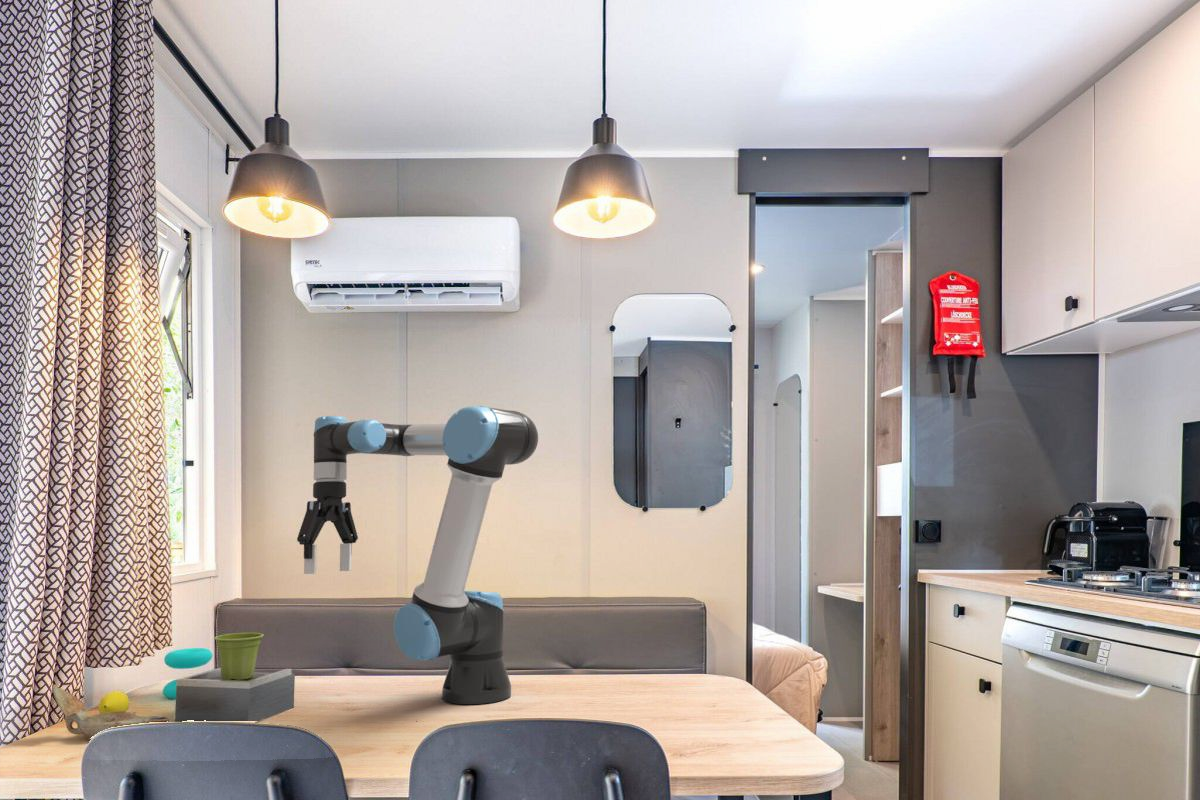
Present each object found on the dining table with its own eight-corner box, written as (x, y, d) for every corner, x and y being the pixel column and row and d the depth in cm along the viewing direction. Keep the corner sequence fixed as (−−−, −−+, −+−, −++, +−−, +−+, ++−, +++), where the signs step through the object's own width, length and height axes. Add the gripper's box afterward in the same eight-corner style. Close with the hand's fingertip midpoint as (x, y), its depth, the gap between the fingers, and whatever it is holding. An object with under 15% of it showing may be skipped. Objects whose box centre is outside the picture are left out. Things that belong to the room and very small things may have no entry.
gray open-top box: (293, 707, 177) (294, 667, 178) (248, 725, 162) (249, 682, 163) (213, 703, 182) (215, 665, 183) (162, 721, 167) (164, 679, 168)
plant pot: (245, 672, 179) (247, 631, 180) (271, 676, 174) (272, 634, 175) (204, 680, 172) (205, 637, 173) (229, 684, 166) (230, 640, 167)
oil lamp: (62, 733, 160) (65, 679, 161) (178, 728, 162) (180, 675, 163) (36, 746, 151) (40, 689, 152) (158, 740, 153) (161, 684, 155)
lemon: (108, 717, 174) (111, 690, 175) (134, 716, 174) (137, 689, 175) (89, 721, 167) (92, 692, 168) (116, 720, 167) (119, 692, 168)
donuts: (157, 651, 192) (201, 645, 199) (155, 696, 190) (199, 688, 198) (175, 656, 185) (219, 649, 193) (173, 702, 184) (218, 694, 191)
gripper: (346, 484, 210) (345, 570, 206) (282, 479, 186) (279, 575, 183) (372, 483, 208) (372, 569, 204) (310, 477, 184) (308, 574, 181)
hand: (328, 572), depth 194 cm, fingers open, 13 cm apart
